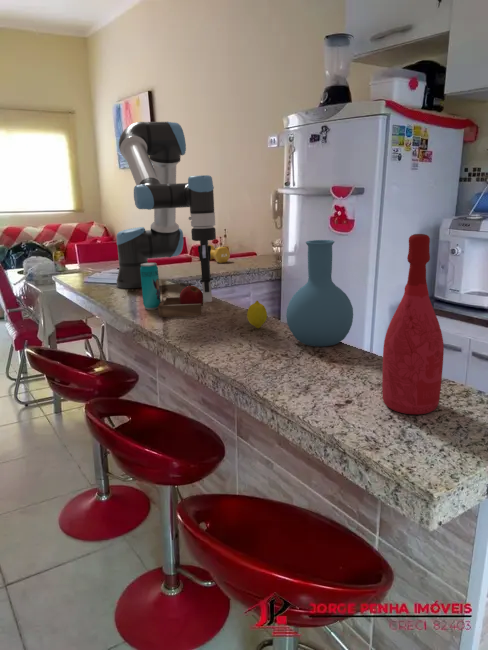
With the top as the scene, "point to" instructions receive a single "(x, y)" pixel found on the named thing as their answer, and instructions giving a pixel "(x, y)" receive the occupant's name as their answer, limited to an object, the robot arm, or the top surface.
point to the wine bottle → (413, 342)
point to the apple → (191, 295)
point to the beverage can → (150, 285)
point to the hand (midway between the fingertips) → (207, 301)
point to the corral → (178, 308)
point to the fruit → (257, 314)
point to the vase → (319, 302)
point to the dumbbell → (220, 254)
